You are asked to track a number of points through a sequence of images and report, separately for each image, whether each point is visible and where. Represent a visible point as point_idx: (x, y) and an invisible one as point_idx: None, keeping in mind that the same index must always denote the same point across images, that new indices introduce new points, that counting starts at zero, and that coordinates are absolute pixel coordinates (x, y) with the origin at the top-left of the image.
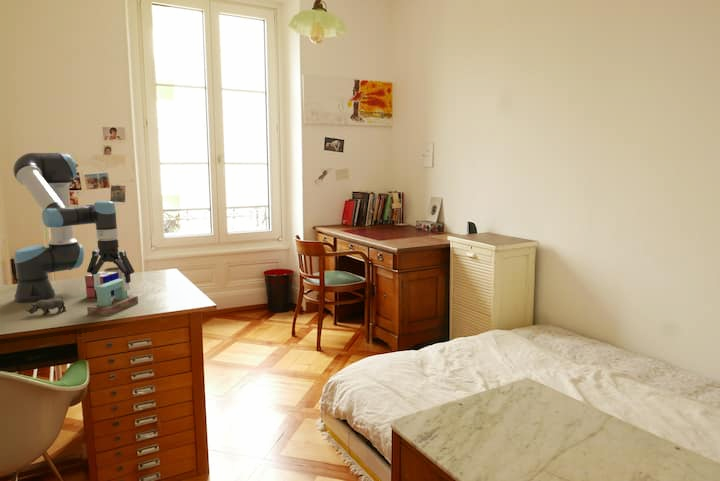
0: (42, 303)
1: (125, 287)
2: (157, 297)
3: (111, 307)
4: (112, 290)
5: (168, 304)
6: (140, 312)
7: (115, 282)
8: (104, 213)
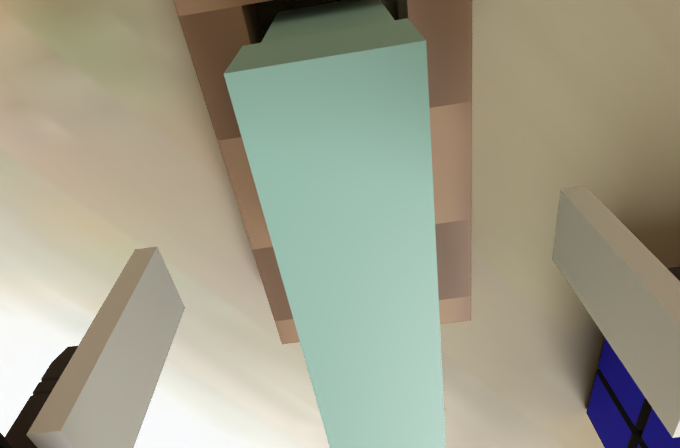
0: None
1: (119, 284)
2: (267, 406)
3: (176, 4)
4: (617, 396)
5: (48, 333)
6: (20, 132)
7: (319, 337)
8: None
